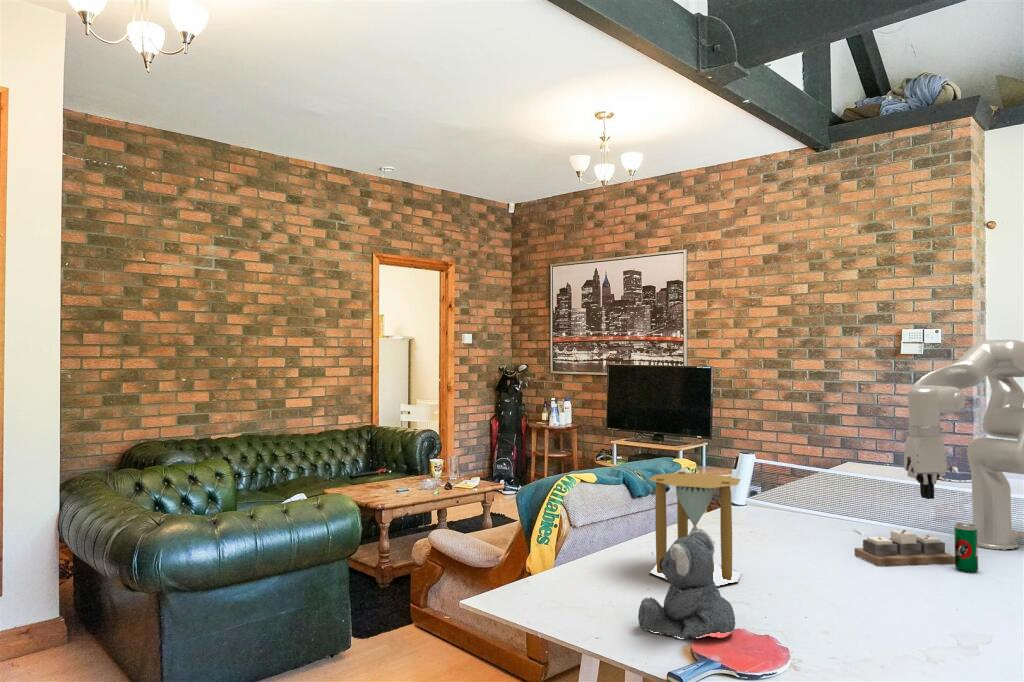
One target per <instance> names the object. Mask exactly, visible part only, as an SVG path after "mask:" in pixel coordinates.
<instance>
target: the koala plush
mask: <svg viewBox="0 0 1024 682" xmlns="http://www.w3.org/2000/svg"><path fill="white" fill-rule="evenodd" d="M697 529H698V531H697V530H694V532H692V531H691V530H690V532H691V534H690V536H689V537H683V538H682V537H681V538H679V539H678V538H677V539H675V541H673V543H672V544H671V545H670V547H669V548H668V550H667V553H666V555H665V557H663V558H662V559H661V560H660V569H661V570H662V572H663V574H664V575H665V577H666V578H667V580H668V581H667V580H666V581H667V582H669V584H670V585H669V587H668V590H667V592H666V595H665V597H664V601H663V606H662V605H661V604H660V603H659V602H658V600H657V599H655V598H653V597H652V596H651V597H644V598H643V599H641V602H640V606H639V609H638V615H637V617H638V618H637V619H638V624H639V626H640V627H641V626H642V627H641V628H642V629H643V628H644V629H646V630H649V631H650V630H651V631H653V632H659V633H661V634H669V635H672V636H671V637H673V636H676V637H677V636H678V637H680V638H687V639H688V638H690V637H691V638H693V639H695V638H696V637H700V636H703V635H705V634H710V633H717V632H720V633H726V632H731V631H733V632H734V631H735V628H736V617H735V612H734V608H733V606H732V604H731V603H730V602H729V600H727V599H726V598H725V597H723V596H722V595H721V592H720V590H719V589H718V587H716V585H715V583H714V581H713V572H714V569H713V561H714V554H715V543H716V541H714V540H713V539H712V538H711V537H712V536H711V535H709V534H708V533H709V532H707V531H706V530H704V529H702V528H697ZM712 557H713V559H712ZM644 629H643V630H644ZM646 630H645V631H646ZM649 631H648V632H649ZM731 633H732V632H731ZM689 636H690V637H689Z"/></svg>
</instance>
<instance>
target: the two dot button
mask: <svg viewBox="0 0 1024 682" xmlns="http://www.w3.org/2000/svg"><path fill="white" fill-rule="evenodd" d="M916 540H918V541H921V542H923V543H940V541H941V539H940V538H939V537H938V538H937V537H936V536H932V535H930V534H929V535H928V534H927V535H925V534H924V535H923V534H921V535H916Z"/></svg>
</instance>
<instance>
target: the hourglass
mask: <svg viewBox="0 0 1024 682" xmlns="http://www.w3.org/2000/svg"><path fill="white" fill-rule="evenodd" d="M647 480H648V481H651V482H654V483H656V484H655V558H656V559H655V561H656V563H655V564H657V572H658V573H663V572H662V570H661V569H660V560H661V559H662V558H663V557H665V555H666V553H667V551H668V550H667V547H668V546H667V543H668V542H667V538H668V532H667V530H668V528H667V526H668V525H667V494H666V493H667V490H666V485H670V486H674V487H675V494H676V497H677V500H676V502H677V505H676V506H677V508H676V509H677V510H676V511H677V513H676V515H677V523H676V525H677V539H679V538H681V537H682V538H683V537H689V536H690V534H691V531H692V532H694V530H697V531H698V529H699V528H698V527H697V525H698V523H699V521H700V520H701V518H702V517H703V515H704V513H705V512H706V510H707V509H708V506H710V504H711V502H712V499H713V494H714V489H715V488H720V495H719V496H720V499H719V500H720V515H719V516H720V518H719V519H720V520H719V521H720V529H719V530H720V558H721V559H720V560H721V563H720V565H721V569H722V577H723V579H727V580H731V577H732V569H733V517H732V514H733V510H732V490H731V487H732V486H733V487H734V486H738V485H739V483H740V481H741V480H742V479H740V478H735V477H730V476H725V475H719V474H712V473H699V472H698V473H697V472H686V471H683V470H680V471H678V472H670V473H669V472H668V473H662V474H661V473H659V474H654V475H653V476H651V477H650V478H649V479H647ZM689 521H690V522H691V523H692V528H691V530H690V532H689ZM712 559H713V569H714V563H715V561H714V556H713V557H712Z"/></svg>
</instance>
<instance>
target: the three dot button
mask: <svg viewBox="0 0 1024 682" xmlns="http://www.w3.org/2000/svg"><path fill="white" fill-rule="evenodd" d="M916 536H917V533H915V532H911V531H909V530H907V529H897V530H896V529H895V530H894V529H892V530H890V539H891V540H892V541H895V542H898V543H900V544H912V543H916Z"/></svg>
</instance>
